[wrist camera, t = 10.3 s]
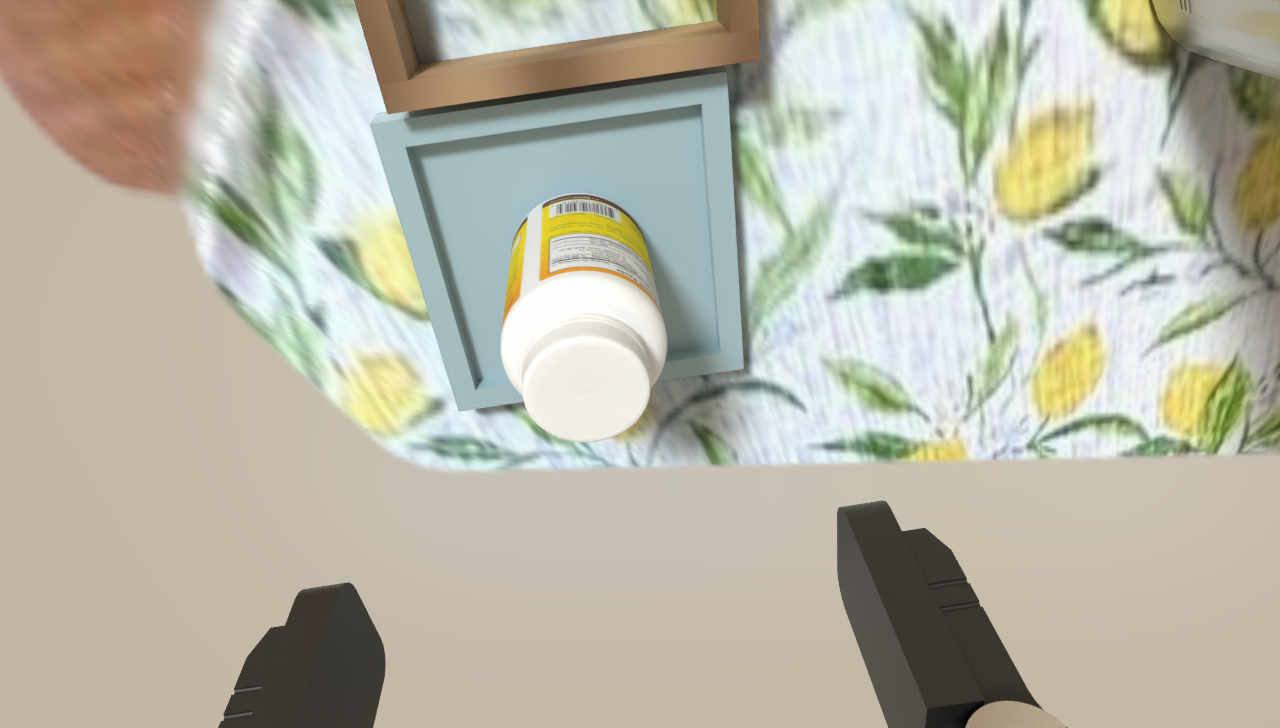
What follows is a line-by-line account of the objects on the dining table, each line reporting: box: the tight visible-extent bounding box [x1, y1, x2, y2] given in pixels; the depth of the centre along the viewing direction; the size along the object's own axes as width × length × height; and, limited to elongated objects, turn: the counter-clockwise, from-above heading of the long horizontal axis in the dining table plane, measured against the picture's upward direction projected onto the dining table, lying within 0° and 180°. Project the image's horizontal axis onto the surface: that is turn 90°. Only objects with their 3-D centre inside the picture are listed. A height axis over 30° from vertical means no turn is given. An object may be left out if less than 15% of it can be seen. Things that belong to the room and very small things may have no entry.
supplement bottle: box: [501, 193, 667, 442], centre depth 28 cm, size 6×6×10 cm
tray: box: [370, 66, 744, 411], centre depth 32 cm, size 13×13×1 cm
